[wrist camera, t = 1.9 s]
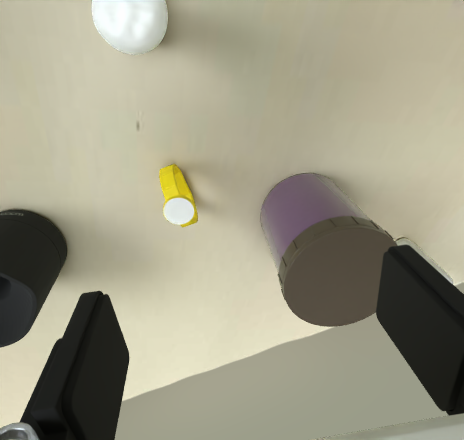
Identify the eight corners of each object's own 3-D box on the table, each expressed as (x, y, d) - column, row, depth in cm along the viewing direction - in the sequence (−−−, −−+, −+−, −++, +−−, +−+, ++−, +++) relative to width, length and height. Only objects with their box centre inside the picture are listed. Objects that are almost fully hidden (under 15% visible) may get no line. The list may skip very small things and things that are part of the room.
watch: (155, 163, 34) (147, 186, 28) (181, 153, 33) (178, 174, 28) (180, 213, 36) (177, 242, 31) (203, 204, 36) (205, 232, 31)
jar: (340, 162, 35) (399, 212, 25) (347, 237, 40) (398, 305, 30) (252, 186, 36) (274, 244, 26) (268, 257, 40) (293, 331, 30)
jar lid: (391, 201, 26) (405, 212, 25) (392, 296, 31) (404, 311, 29) (268, 232, 27) (273, 246, 25) (288, 322, 31) (293, 338, 30)
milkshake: (180, -16, 27) (171, -44, 18) (171, 56, 29) (160, 63, 20) (121, -33, 26) (82, -69, 17) (116, 44, 28) (81, 45, 20)
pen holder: (87, 233, 37) (52, 294, 28) (49, 291, 40) (8, 362, 31) (-3, 187, 33) (-74, 240, 24) (-36, 253, 36) (-110, 321, 28)
